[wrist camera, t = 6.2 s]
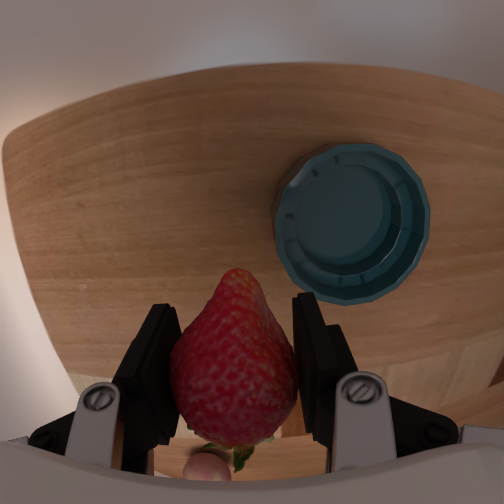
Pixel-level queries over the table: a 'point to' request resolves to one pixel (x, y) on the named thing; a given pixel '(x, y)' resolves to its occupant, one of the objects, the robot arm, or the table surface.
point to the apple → (206, 468)
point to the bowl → (350, 222)
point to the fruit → (234, 369)
